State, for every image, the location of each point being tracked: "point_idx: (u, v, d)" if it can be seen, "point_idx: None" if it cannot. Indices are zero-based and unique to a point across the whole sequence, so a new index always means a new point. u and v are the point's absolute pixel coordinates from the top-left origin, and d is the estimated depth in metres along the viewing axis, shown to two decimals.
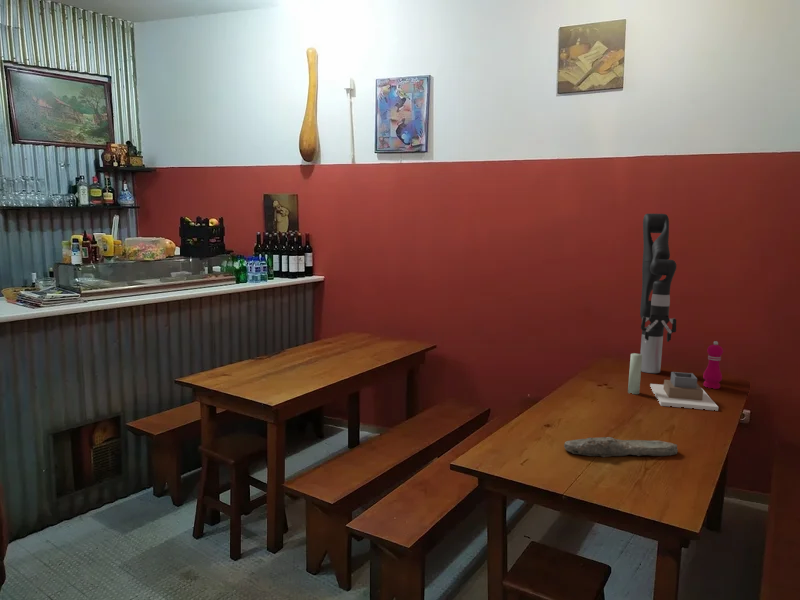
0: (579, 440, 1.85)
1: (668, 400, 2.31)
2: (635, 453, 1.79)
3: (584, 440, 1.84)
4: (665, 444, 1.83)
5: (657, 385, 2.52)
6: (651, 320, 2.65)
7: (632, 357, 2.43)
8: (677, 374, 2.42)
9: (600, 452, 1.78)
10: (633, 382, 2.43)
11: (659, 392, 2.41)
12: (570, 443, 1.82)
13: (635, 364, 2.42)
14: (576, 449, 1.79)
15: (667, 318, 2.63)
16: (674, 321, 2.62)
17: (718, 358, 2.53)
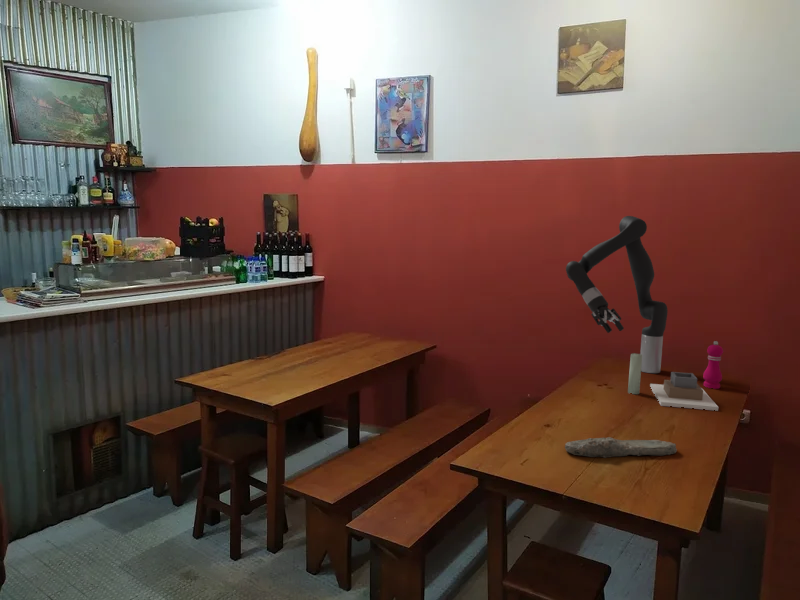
0: (579, 441, 1.84)
1: (668, 400, 2.31)
2: (635, 453, 1.79)
3: (584, 441, 1.84)
4: (664, 443, 1.84)
5: (657, 385, 2.52)
6: None
7: (632, 357, 2.43)
8: (677, 374, 2.42)
9: (601, 453, 1.78)
10: (633, 382, 2.43)
11: (659, 392, 2.41)
12: (571, 444, 1.81)
13: (635, 364, 2.42)
14: (577, 450, 1.78)
15: None
16: None
17: (718, 358, 2.53)
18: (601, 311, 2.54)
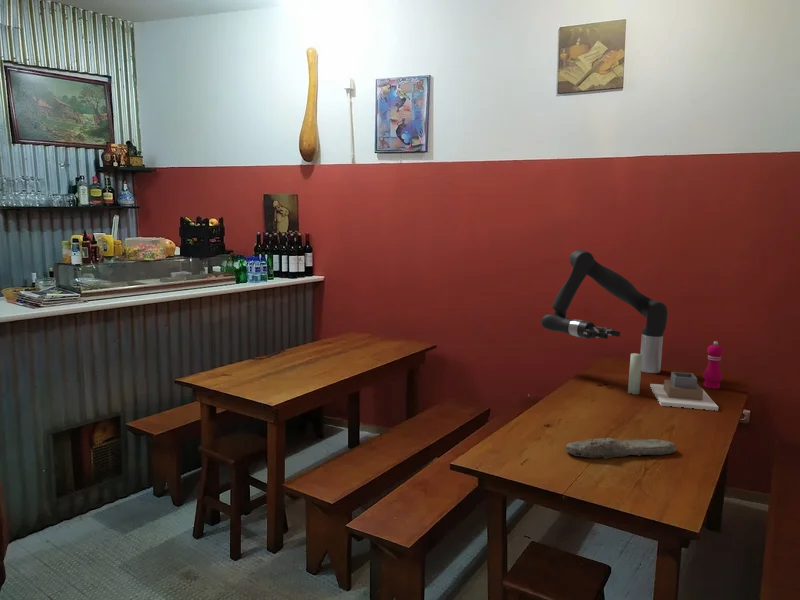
0: (580, 442, 1.83)
1: (668, 400, 2.31)
2: (636, 453, 1.79)
3: (585, 442, 1.83)
4: (663, 443, 1.84)
5: (657, 385, 2.52)
6: None
7: (632, 357, 2.43)
8: (677, 374, 2.42)
9: (603, 453, 1.77)
10: (633, 382, 2.43)
11: (659, 392, 2.41)
12: (572, 445, 1.80)
13: (635, 364, 2.42)
14: (579, 451, 1.78)
15: None
16: (586, 335, 2.55)
17: (718, 358, 2.53)
18: (590, 329, 2.57)
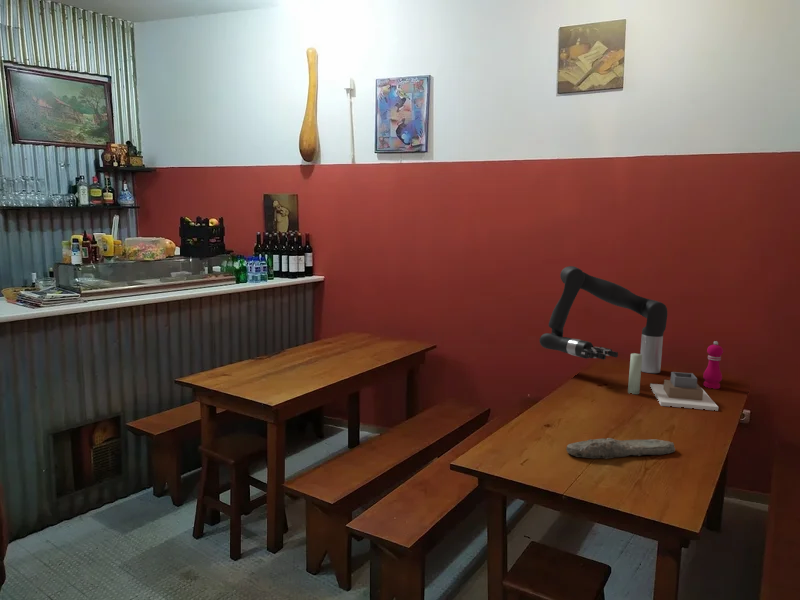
0: (580, 442, 1.83)
1: (668, 400, 2.31)
2: (636, 453, 1.79)
3: (585, 442, 1.83)
4: (662, 442, 1.84)
5: (657, 385, 2.52)
6: None
7: (632, 357, 2.43)
8: (677, 374, 2.42)
9: (603, 454, 1.77)
10: (633, 382, 2.43)
11: (659, 392, 2.41)
12: (573, 446, 1.79)
13: (635, 364, 2.42)
14: (580, 452, 1.77)
15: None
16: (583, 355, 2.57)
17: (718, 358, 2.53)
18: (588, 349, 2.59)
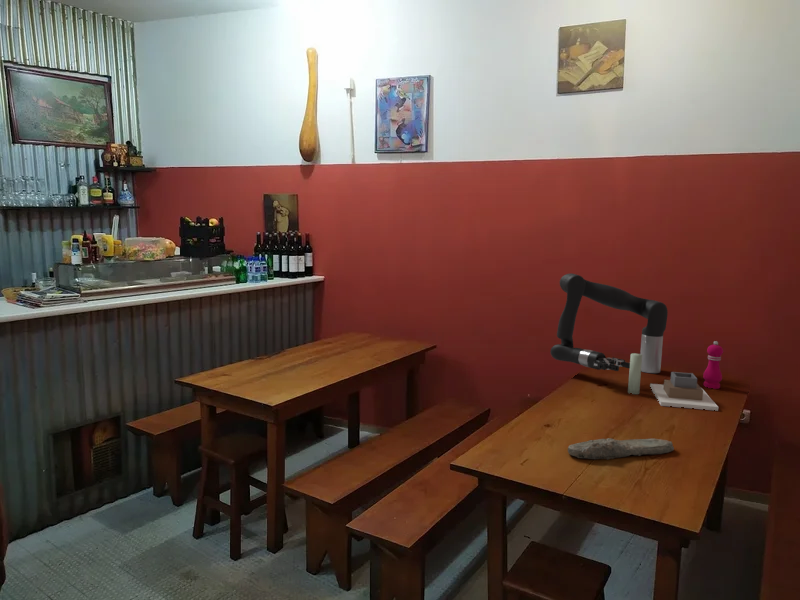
0: (581, 443, 1.82)
1: (668, 400, 2.31)
2: (637, 453, 1.79)
3: (586, 443, 1.82)
4: (661, 442, 1.85)
5: (657, 385, 2.52)
6: None
7: (632, 357, 2.43)
8: (677, 374, 2.42)
9: (605, 455, 1.76)
10: (633, 382, 2.43)
11: (659, 392, 2.41)
12: (574, 447, 1.78)
13: (635, 364, 2.42)
14: (582, 453, 1.76)
15: None
16: None
17: (718, 358, 2.53)
18: (601, 360, 2.54)
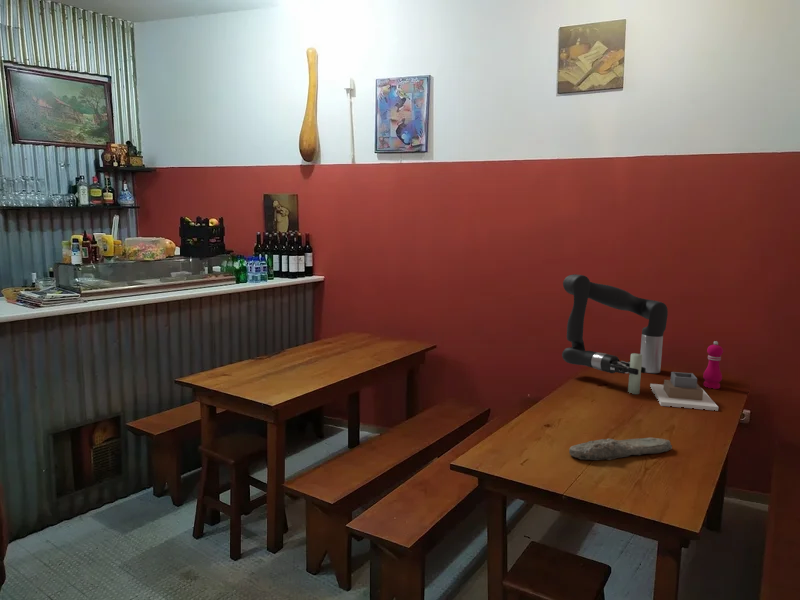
0: (582, 444, 1.81)
1: (668, 400, 2.31)
2: (637, 453, 1.79)
3: (587, 444, 1.81)
4: (659, 441, 1.86)
5: (657, 385, 2.52)
6: None
7: (632, 357, 2.43)
8: (677, 374, 2.42)
9: (607, 455, 1.76)
10: (633, 382, 2.43)
11: (659, 392, 2.41)
12: (576, 449, 1.77)
13: (635, 364, 2.42)
14: (584, 454, 1.75)
15: None
16: None
17: (718, 358, 2.53)
18: (616, 364, 2.48)
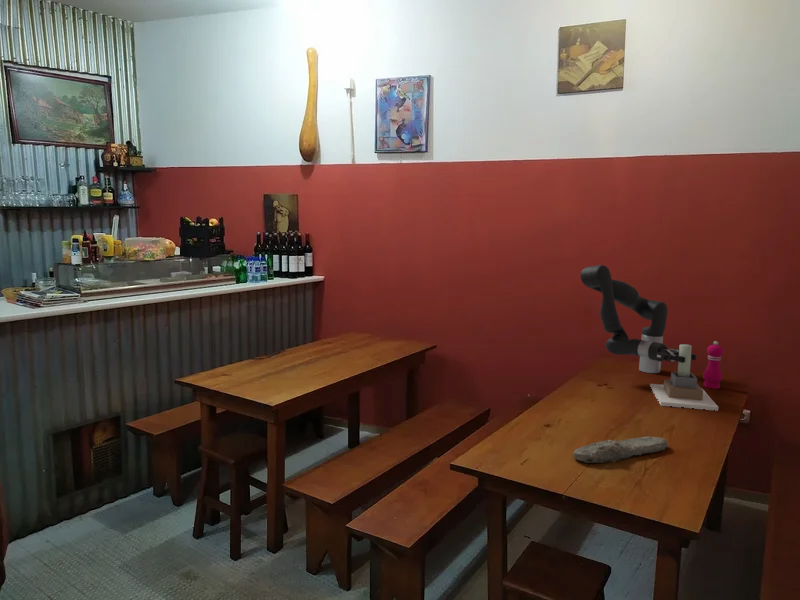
0: (585, 447, 1.79)
1: (668, 400, 2.31)
2: (639, 453, 1.79)
3: (589, 447, 1.79)
4: (656, 439, 1.87)
5: (657, 385, 2.52)
6: None
7: (681, 348, 2.36)
8: (677, 374, 2.42)
9: (612, 457, 1.75)
10: (682, 374, 2.36)
11: (659, 392, 2.41)
12: (581, 452, 1.75)
13: (685, 355, 2.35)
14: (590, 458, 1.73)
15: None
16: None
17: (718, 358, 2.53)
18: (664, 352, 2.42)
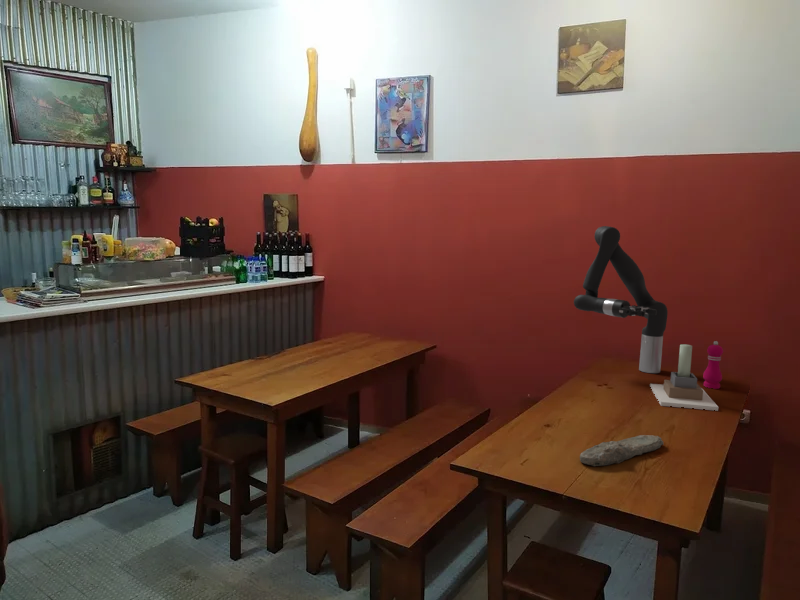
0: (589, 450, 1.77)
1: (668, 400, 2.31)
2: (640, 453, 1.80)
3: (593, 449, 1.77)
4: (652, 438, 1.88)
5: (657, 385, 2.52)
6: None
7: (682, 348, 2.36)
8: (677, 374, 2.42)
9: (617, 459, 1.74)
10: (682, 374, 2.36)
11: (659, 392, 2.41)
12: (588, 456, 1.73)
13: (685, 355, 2.35)
14: (598, 461, 1.71)
15: None
16: (621, 314, 2.52)
17: (718, 358, 2.53)
18: (626, 307, 2.54)
